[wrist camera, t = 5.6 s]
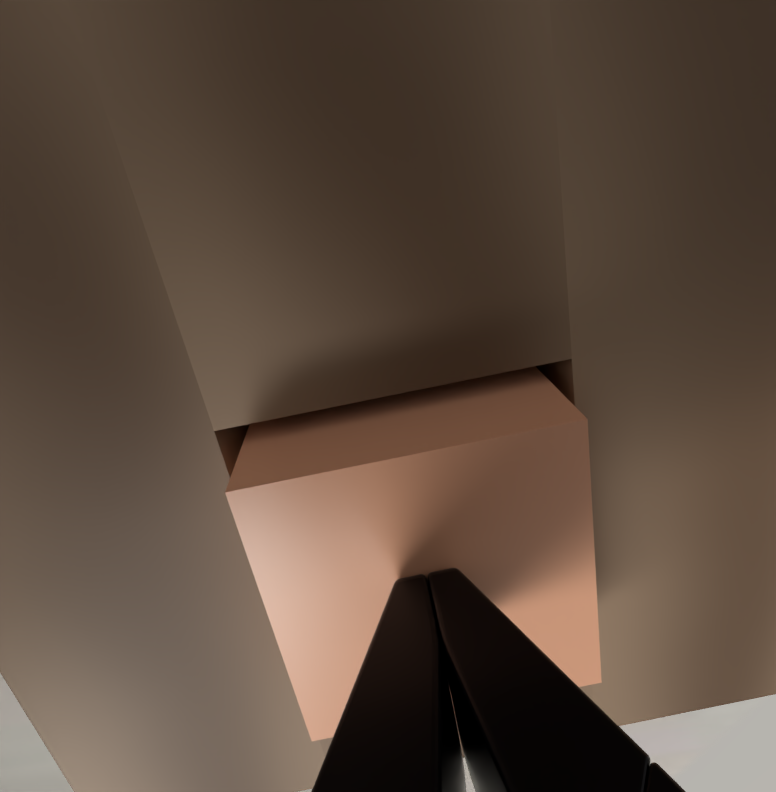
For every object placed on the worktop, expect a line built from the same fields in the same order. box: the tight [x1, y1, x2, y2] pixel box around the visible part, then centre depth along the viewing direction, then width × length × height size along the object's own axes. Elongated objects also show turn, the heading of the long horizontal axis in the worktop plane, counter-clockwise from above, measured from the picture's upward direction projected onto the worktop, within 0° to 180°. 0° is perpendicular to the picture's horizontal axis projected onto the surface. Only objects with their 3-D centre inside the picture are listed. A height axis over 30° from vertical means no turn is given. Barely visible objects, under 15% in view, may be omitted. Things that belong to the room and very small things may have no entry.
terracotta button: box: [225, 366, 602, 741], centre depth 9 cm, size 4×4×4 cm
